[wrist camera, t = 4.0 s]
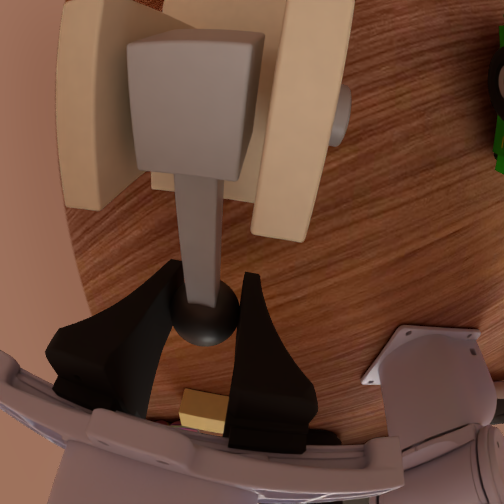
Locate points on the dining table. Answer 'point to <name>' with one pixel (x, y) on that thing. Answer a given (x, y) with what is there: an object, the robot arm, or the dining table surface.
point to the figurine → (499, 403)
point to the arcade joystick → (196, 152)
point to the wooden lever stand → (266, 114)
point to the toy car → (498, 100)
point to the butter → (203, 410)
